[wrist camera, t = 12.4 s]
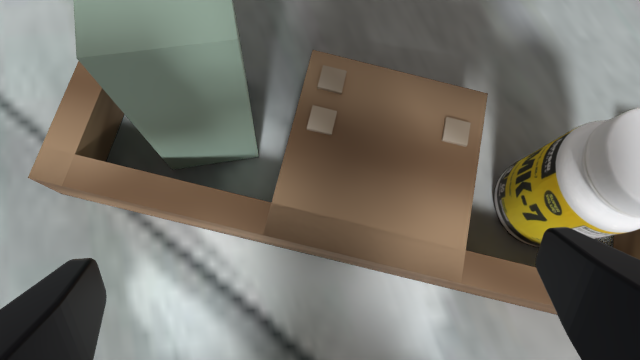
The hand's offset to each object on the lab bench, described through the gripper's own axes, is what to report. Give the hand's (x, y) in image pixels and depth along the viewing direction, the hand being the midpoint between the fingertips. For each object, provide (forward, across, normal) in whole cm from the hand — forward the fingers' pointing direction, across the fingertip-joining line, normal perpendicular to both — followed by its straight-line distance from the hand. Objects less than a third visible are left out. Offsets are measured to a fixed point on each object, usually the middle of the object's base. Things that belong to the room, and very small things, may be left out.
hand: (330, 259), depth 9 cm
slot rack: (+14, -4, +5) cm, 15 cm away
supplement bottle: (+12, -13, +7) cm, 19 cm away
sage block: (+16, +4, +4) cm, 17 cm away
